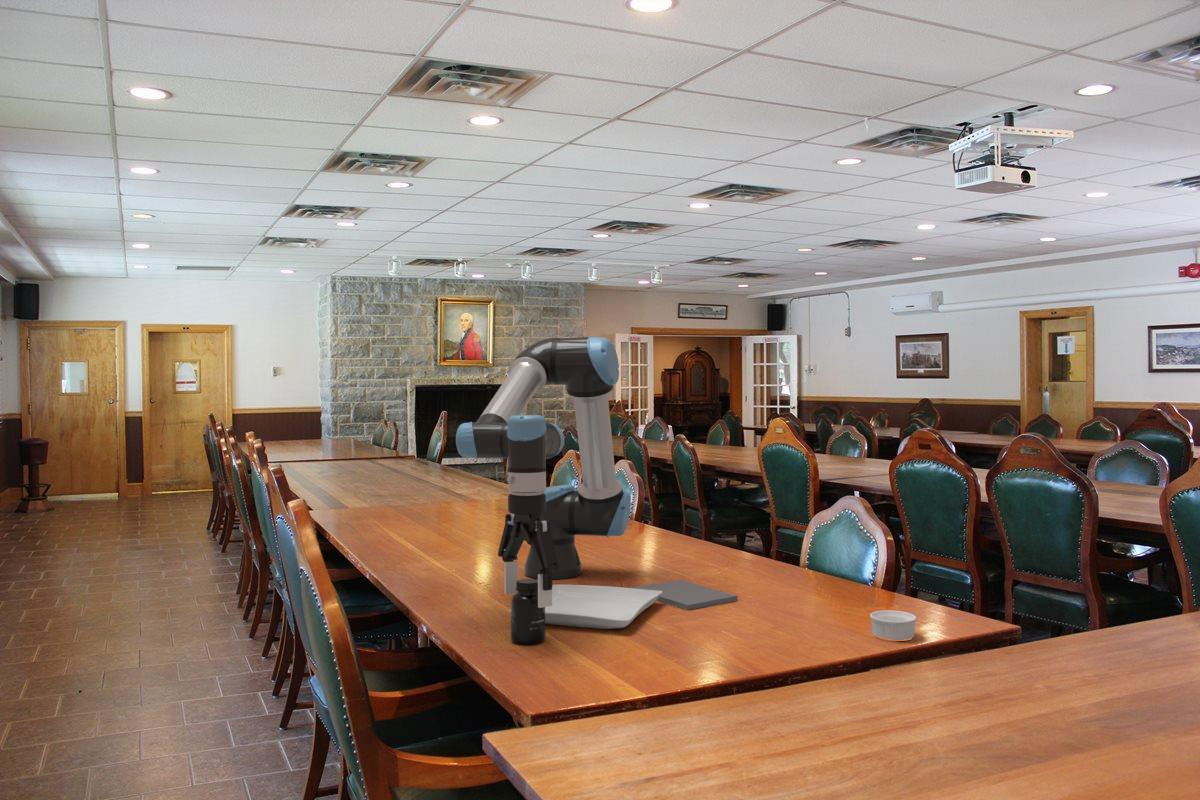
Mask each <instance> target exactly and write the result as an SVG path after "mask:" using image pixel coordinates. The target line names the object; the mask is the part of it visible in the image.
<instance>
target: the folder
mask: <svg viewBox="0 0 1200 800" xmlns="http://www.w3.org/2000/svg"><path fill="white" fill-rule="evenodd" d="M631 588H634V589H644V590H656V591H663V593H662V594H661V595H660V596H659V598H658V599H657V600H658V601H657V600H656V601H657V602H660V601H661V603H663V602H665V603H664V604H666V603H668V604H667V605H669V604H671V605H670V606H672V605H674V606H673V607H675V606H677V607H676V608H678V607H680V608H679V609H681V608H683V609H682V610H684V609H686V611H687V610H688V611H692V610H691V609H693V610H697V609H696V608H698V609H702V607H703V608H706V607H713V605H714V606H718V604H719V605H724V604H728V602H729V603H733V601H734V602H738V595H736V594H733V593H730V592H725V591H722V590H718V589H715V588H711V587H708V586H704V585H701V584H697V583H694V582H690V581H688V580H684V579H674V580H669V581H663V582H657V583H652V584H646V585H640V586H633V587H631Z"/></svg>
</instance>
